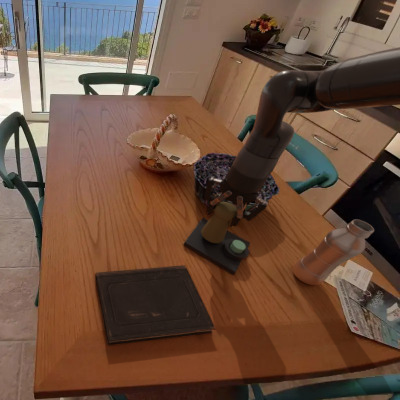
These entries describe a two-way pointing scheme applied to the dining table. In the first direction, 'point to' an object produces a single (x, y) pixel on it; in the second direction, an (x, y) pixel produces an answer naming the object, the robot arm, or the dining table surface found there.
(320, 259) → the plastic bottle
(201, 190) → the decorative bowl
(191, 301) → the hardcover book
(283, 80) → the robot arm
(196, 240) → the dark grey button base
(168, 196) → the dining table surface
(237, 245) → the tare button
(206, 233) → the cork
